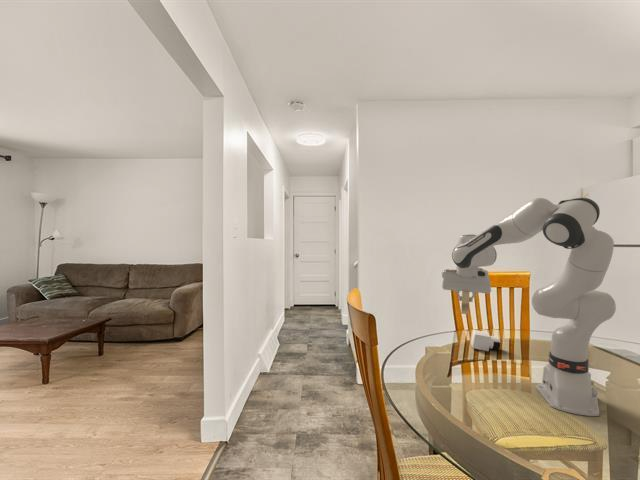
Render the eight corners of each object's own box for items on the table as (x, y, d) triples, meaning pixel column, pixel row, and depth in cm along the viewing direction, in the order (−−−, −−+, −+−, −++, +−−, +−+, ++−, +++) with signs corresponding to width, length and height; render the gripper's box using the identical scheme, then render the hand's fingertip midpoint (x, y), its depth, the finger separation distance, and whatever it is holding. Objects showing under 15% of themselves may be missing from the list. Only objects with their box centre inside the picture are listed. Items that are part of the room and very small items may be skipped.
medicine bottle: (470, 343, 183) (496, 348, 180) (472, 348, 177) (499, 353, 174) (473, 329, 183) (499, 334, 180) (475, 334, 176) (502, 339, 173)
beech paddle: (468, 314, 163) (470, 278, 162) (461, 313, 164) (462, 277, 163) (468, 311, 169) (470, 276, 167) (461, 310, 170) (463, 275, 169)
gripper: (441, 270, 166) (440, 300, 167) (492, 273, 158) (490, 305, 159) (442, 267, 172) (441, 297, 173) (491, 271, 164) (489, 301, 165)
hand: (465, 301), depth 166 cm, fingers closed on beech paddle, 3 cm apart
